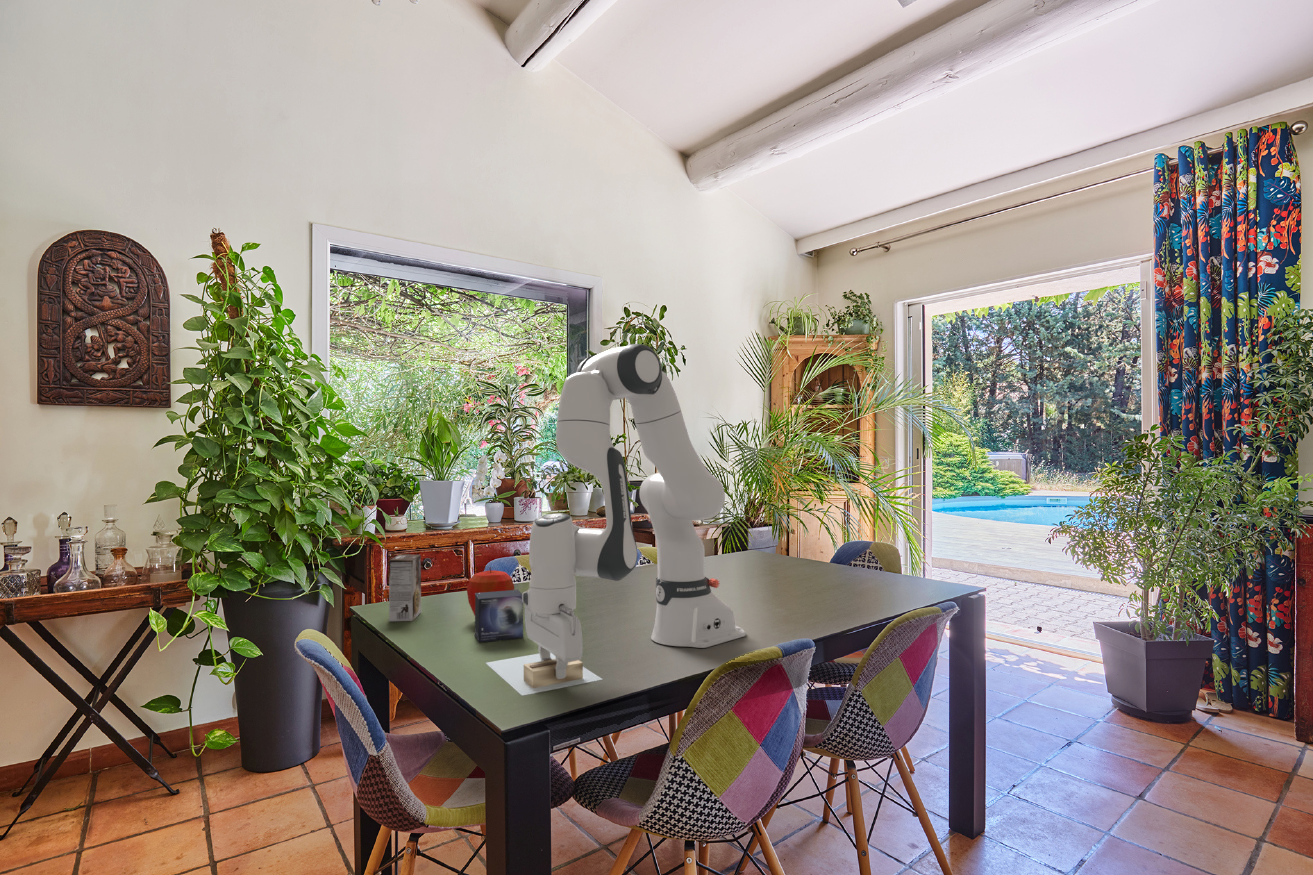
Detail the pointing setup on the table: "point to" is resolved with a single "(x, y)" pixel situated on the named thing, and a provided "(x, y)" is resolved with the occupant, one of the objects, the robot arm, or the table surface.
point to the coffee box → (404, 587)
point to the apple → (488, 584)
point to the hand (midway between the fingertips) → (553, 672)
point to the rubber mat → (514, 674)
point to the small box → (498, 616)
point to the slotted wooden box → (550, 673)
